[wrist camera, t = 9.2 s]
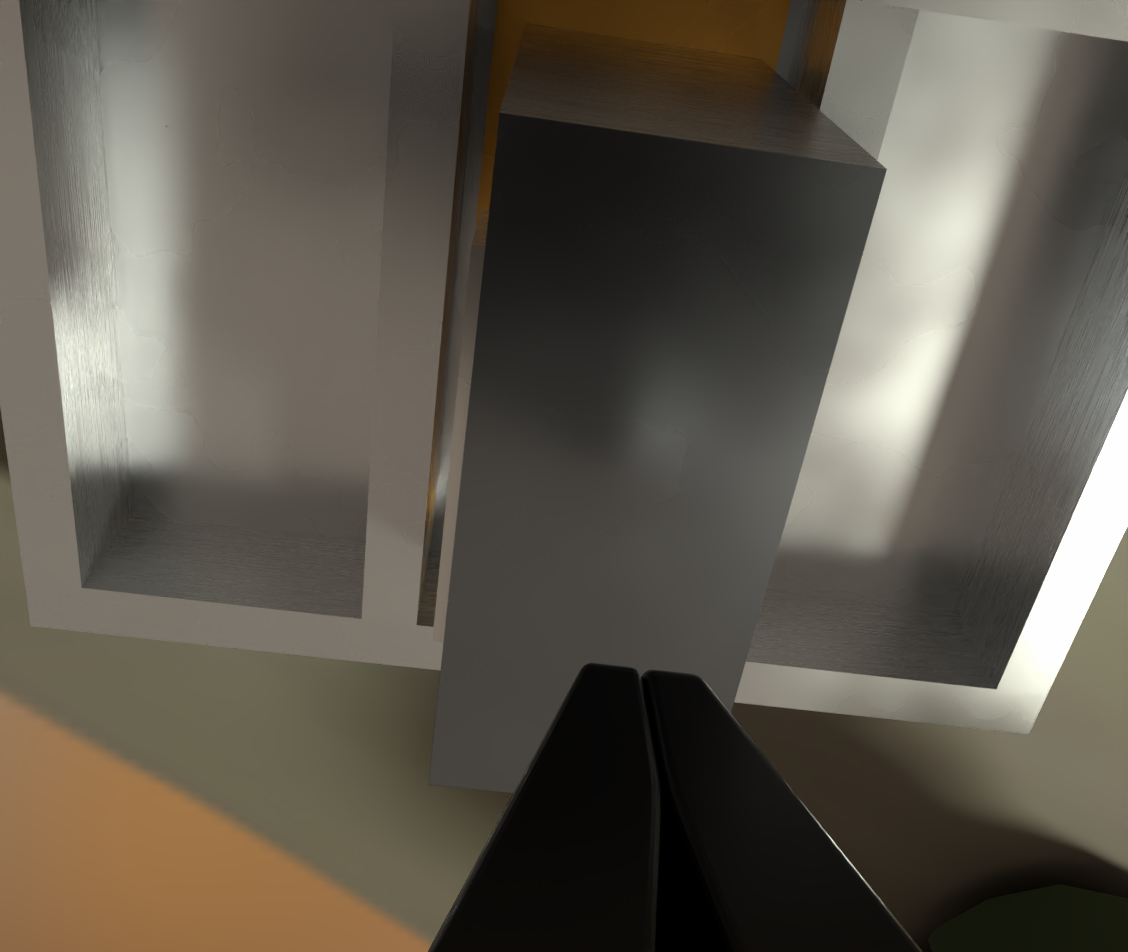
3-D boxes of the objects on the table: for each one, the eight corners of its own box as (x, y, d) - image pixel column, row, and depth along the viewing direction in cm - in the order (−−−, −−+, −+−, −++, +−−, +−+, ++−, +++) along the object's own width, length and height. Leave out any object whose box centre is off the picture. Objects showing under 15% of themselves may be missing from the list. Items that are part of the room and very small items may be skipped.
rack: (1242, -49, 13) (1391, -35, 11) (968, 624, 19) (1029, 733, 16) (34, -243, 13) (-95, -276, 10) (104, 524, 18) (31, 626, 15)
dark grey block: (761, 59, 13) (886, 169, 8) (660, 523, 17) (703, 812, 11) (514, 20, 13) (480, 109, 8) (462, 498, 16) (414, 783, 11)
